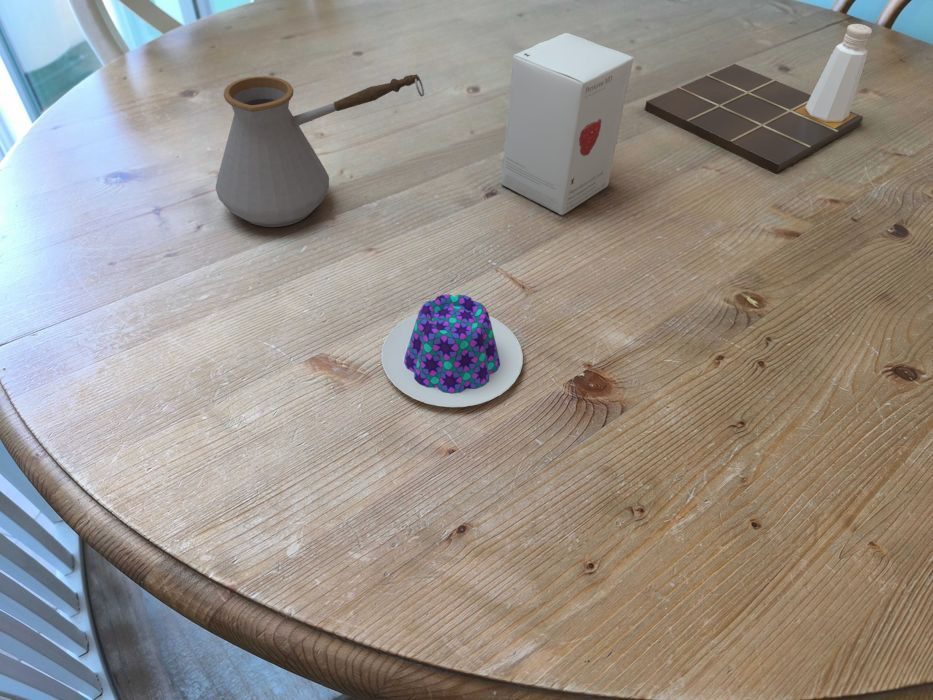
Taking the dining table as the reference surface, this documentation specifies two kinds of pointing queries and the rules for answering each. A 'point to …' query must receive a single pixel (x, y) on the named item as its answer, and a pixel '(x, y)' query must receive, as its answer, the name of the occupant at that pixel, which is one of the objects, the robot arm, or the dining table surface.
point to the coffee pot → (278, 151)
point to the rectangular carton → (564, 120)
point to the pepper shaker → (840, 77)
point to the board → (750, 116)
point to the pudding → (452, 354)
